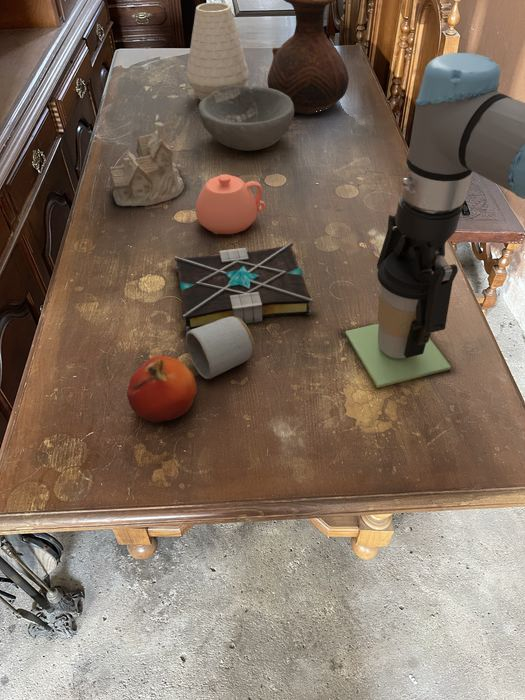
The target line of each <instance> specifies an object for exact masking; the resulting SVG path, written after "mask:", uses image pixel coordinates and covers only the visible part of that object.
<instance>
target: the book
mask: <svg viewBox="0 0 525 700" xmlns="http://www.w3.org/2000/svg"><path fill="white" fill-rule="evenodd" d="M293 247H294V242H292V241H290V242H289V243H286V245H281V246H276V247H272V248H271V247H270V248H266V249H259V250H252V251H251V250H250V251H248V250H247V247H240V248H233V249H231V248H230V249H223V250H219V254H214V255H205V256H192V257H180V256H177V255H175V256H174V262H176V267H175V268H174V269H175V272H176V273H177V274H178V275H177V276H178V280H179V286H180V294H181V301H182V307H183V308H182V309H183V315H182V320H183V321H184V322H185V331H186V333H187V332H188V331H190V330H192V329H195V328H198V327H201V326H204V325H207V324H210V323H213V322H215V321H218V320H220V319H223V318H227V317H233V316H234V317H238V318H240V319H241V320H242V321H243V322H244V323H245V324H251V323H257V322H263V318H269V317H276V316H277V317H278V316H290V315H291V316H292V315H309V316H312V310H311V309H310V306H309V303H310V304H311V305H313V303H314V298H311V295H310V292H309V290H308V287H307V285H306V282H305V279H304V277H303V273H302V266H300V265H299V263H298V260H297V258H296V254H295V251H294V248H293Z"/></svg>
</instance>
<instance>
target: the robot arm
mask: <svg viewBox="0 0 525 700" xmlns="http://www.w3.org/2000/svg"><path fill="white" fill-rule="evenodd" d="M500 77H501V67H500V65H499V64H498V63H497V62H494V60H493V59H492V58H490V57H487V56H485V55H482V54H481V55H480V54H477V53H470V52H469V53H468V52H451V53H446V54H442V55H438V56H436V57H435V58H433V59H431V60H430V61H429V62H428V64H427V65H426V67H425V69H424V72H423V76H422V80H421V84H420V87H419V91H418V95H417V98H416V99H415V109H414V110H415V111H414V114H413V115H414V116H413V123H412V128H411V137H410V143H409V148H408V153H407V157H406V161H405V162H406V164H405V169H404V174H403V178H402V180H401V189H400V196H399V198H398V202H397V206H396V207H397V208H396V213H394V214H390V215H388V219H387V221H388V222H387V230H386V234H385V237H384V240H383V244H382V247H381V249H380V250H381V251H380V253H379V257H378V260H377V262H376V263H377V264H376V268H377V270H378V269H379V267H380V265H381V263H382V262H383V261H384V260H385V259H386V258H387V257H388V256H389V255H390V254H391V253H393V252H395V254H396V257H397V259H402V258H406V259H407V260H408V261H410V262H411V264H412V277H413V278H415V279H417V280H418V281H419V282H420V283H423V282H428V281H430V286H429V294H428V299H423V300H418V303H417V306H416V321H413V322H412V324H411V328H410V332H409V336H408V340H407V344H406V348H405V352H404V356H405V357H406V358H409V357H413V356H417V355H421V354H423V352H424V349H425V345H426V343H428V341H429V338H430V339H431V334H432V333H437V332H441V331H444V330H445V329H446V325H447V320H448V319H447V318H448V313H449V306H450V301H451V295H452V289H453V282H454V280H455V278H456V276H457V274H458V271H459V268H458V266H457V264H455V263H453V264H449V263H448V262H447V260H446V259H445V256H446V243H447V241H448V240H449V239H450V238H451V237H452V236H453V235H454V234H455V233H456V231H457V229H458V224H459V221H460V217H461V214H462V211H463V204H464V203H465V201H466V198H467V194H468V192H469V187H470V184H471V179H472V176H473V173H474V174H475V173H476V174H477V175H479V176H481V177H483V178H484V179H486V180H488V181H490V182H492V183H494V184H496V185H498V186H499V187H501V188H504V189H505V190H507V191H509V192H510V193H512V194H514V195H515V196H516V197H519V198H520V199H522V200H525V102H524V101H521V100H518V99H515V98H513V97H511V96H508V95H506V94H504V93H502V92H499V91H498V90H499V85H500ZM431 267H432V268H431ZM428 268H431V269H430V270H425V271H420V270H423V269H428ZM424 291H427V290H424V289H422V288H421V287H420V292H424Z"/></svg>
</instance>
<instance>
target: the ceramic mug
mask: <svg viewBox="0 0 525 700" xmlns="http://www.w3.org/2000/svg"><path fill="white" fill-rule="evenodd" d="M185 344H186V348H187V352H188V354H189V355H188V356H189V357H190V360H191V362H192V364H193V366H194V368H195V369H196V370H197V372H198V374H199V375H200V376H201V377H202V378H203V379H205V380H210V379H213V378H214V377H217V376H219V375H221V374H223V373H226V372H227V371H229V370H232V369H233V368H235V367H237V366H239V365H242V364H243V363H245V362H247V361H248V360H249V359H250V358H252V356H253V355H254V352H255V343H254V339H253V335H252V333H251V331H250V329H249V327H248V325H247V323H244V322H243V321H242V320H241V319H240V318H238V317H234V316H233V317H227V318H223V319H220V320H218V321H215V322H213V323H210V324H207V325H204V326H201V327H198V328H195V329H192V330H190V331H188V332H186V334H185Z"/></svg>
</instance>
